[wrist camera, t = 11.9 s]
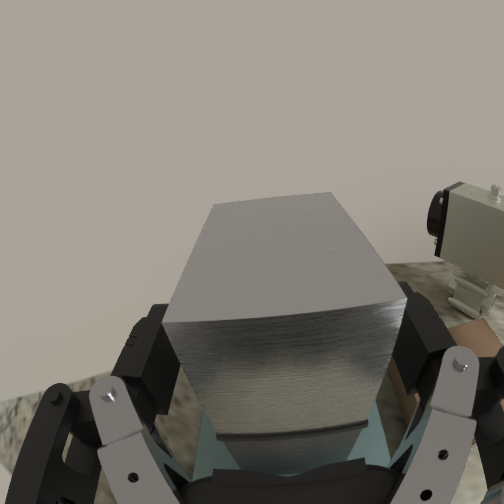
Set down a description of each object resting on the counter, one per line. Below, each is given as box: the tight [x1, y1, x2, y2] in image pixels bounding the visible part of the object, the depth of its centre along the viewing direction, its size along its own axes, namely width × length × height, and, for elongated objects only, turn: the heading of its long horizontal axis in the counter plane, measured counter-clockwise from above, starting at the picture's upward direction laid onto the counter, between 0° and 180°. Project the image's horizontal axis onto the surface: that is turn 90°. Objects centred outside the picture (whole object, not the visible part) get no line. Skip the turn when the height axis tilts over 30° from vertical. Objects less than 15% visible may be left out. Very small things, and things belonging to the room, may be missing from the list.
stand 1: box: [192, 401, 391, 481], centre depth 14 cm, size 10×10×2 cm
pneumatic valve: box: [427, 182, 504, 319], centre depth 18 cm, size 6×12×12 cm, turn 29°
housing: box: [162, 192, 407, 475], centre depth 11 cm, size 5×7×11 cm
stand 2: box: [387, 318, 504, 446], centre depth 13 cm, size 9×9×2 cm
